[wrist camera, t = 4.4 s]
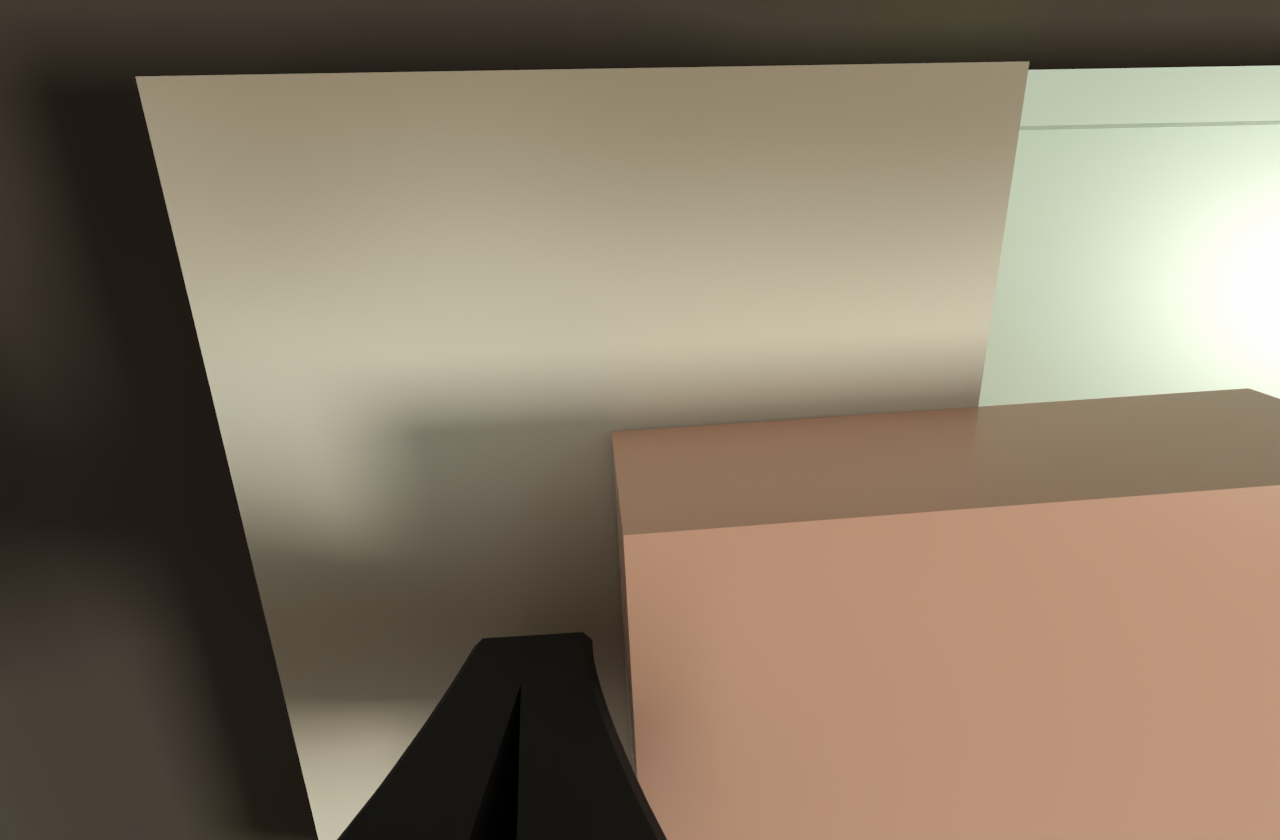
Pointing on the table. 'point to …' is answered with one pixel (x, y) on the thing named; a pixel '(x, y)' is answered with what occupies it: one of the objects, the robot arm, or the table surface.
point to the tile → (958, 622)
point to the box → (1140, 237)
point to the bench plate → (544, 329)
